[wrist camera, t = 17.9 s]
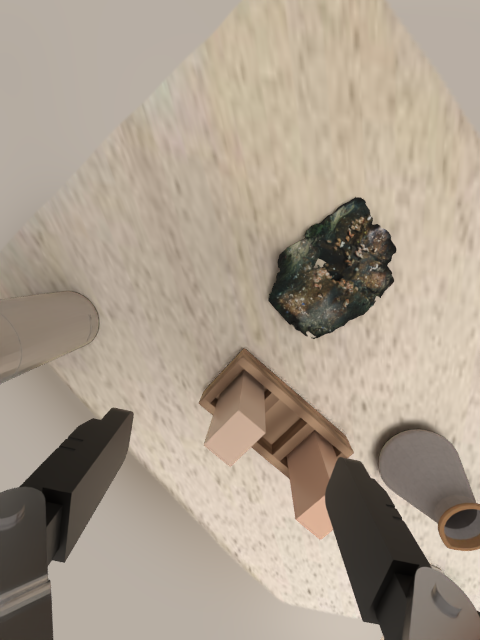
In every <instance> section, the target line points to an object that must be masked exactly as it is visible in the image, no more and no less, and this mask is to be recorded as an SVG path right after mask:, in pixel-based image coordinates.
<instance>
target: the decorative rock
mask: <svg viewBox="0 0 480 640" xmlns="http://www.w3.org/2000/svg"><path fill="white" fill-rule="evenodd" d="M365 203H366V202H365V200H363V199H362V198H356V197H355V198H354V199H352V200H351V201H350V202H347V203H345V204H343V205H341V206H340V207H339V208H338V209H337V210H336V211H335V212H334V213H333V214H331V215H328V216H327V217H326V218H325V219H324V220H323V221H322V222H321V223H319V224H315V225H313V226H311V227H310V228H309V229H308V230H307V231H306V234H305V237H306V238H305V239H304V240H302V241H299V242H298V243H295V244H294V245H292V246H290V247H288V248H287V249H286V250H285V251H283V252H282V253H281V254H280V255H279V259H278V268H279V269H280V272H279V273H278V274H277V281H276V283H274V286H273V288H272V292H271V294H269V295H270V296H269V300H268V301H269V302H270V303H271V304H272V306H273V307H274V308H275V309H276V310H277V311H278V312H279V313H280V315H281V316H282V317H283V318H284V319H285V320H286V321H287V322H288V323H289V324H292V325H294V326H295V329H296V330H298V331H301V333H303V334H304V335H305V336H308V335H307V334H306V331H309V332H310V333H312V334H313V335H314V336H316V337H315V338H318V337H321V336H323V335H324V334H327V333H332V332H333V331H334V330H335V329H337V328H339V327H341V326H344V325H345V324H346V323H347V322H348V321H349V320H352V319H354V318H357V317H358V316H360V315H364V314H365V313H366V312H367V311H368V309H369V308H370V307H371V306H373V305H374V303H375V301H374V300H375V297H376V296H379V297H380V298H381V296H382V295H383V293H384V291H385V290H387V288H388V287H390V286H391V285H392V284H393V282H394V278H393V277H392V272H391V270H390V269H389V268H388V266H387V265H388V263H389V262H390V261H391V259H392V255H393V254H394V253H396V247H395V245H394V244H393V242H392V241H391V236H390V234H389V232H388V231H387V230H385V229H383V228H381V227H380V225H378V224H376V225H372V221H373V218H372V217H371V215H370V210H369V209H368V207H367V206H366V204H365ZM318 258H319V259H322V260H323V261H325V262H326V263H325V264H324V265H323V267H322V268H321V267H319V265H318V268H317V269H314V268H313V267H314V265H315V263H316V261H317V259H318ZM331 276H332V277H331ZM311 338H312V337H311ZM315 338H313V339H315Z"/></svg>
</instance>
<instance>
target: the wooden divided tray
mask: <svg viewBox="0 0 480 640" xmlns="http://www.w3.org/2000/svg"><path fill="white" fill-rule="evenodd" d="M244 369H245V370H246V371H247V372H248V373H249V374H251V375H252V376H253V377H254V378H255V379H256V380H258V381H259V382H260V383H261V384H262V385H263V386H264V398H265V426H266V433H265V434H264V435H263V436H262V437H261V438H260V439H259V440H258V441H257V442H256V443H255V444H254V445H253V446H252V448H253V449H254V450H255V451H257V452H258V453H259V454H260V455H261V456H263V457H264V458H265V459H266V460H267V461H269V462H270V463H271V464H272V465H273V466H275V467H276V468H277V469H278V470H280V471H281V472H282V473H283V474H284V475H286V476H287V477H288V478H289V479H290V476H289V469H288V462H287V454H289V453H290V452H291V451H292V450H293V449H294V448H295V447H296V446H297V445H298V444H300V443H301V442H302V441H303V440H304V439H305V438H306V437H307V436H308V435H309V434H311V433H312V432H313V431H314V430H316V431H317V432H318V433H320V434H321V435H322V436H323V437H324V438H325V439H327V440H328V441H329V442H330V443H331V444H332V446H333V449H334V451H335V454H336V456H337V459H338V458H339V457H343V458H348V457H350V456H351V455H352V454H353V453H354V452H353V450H352V448H351V446H350V444H349V441H348V439H347V437H346V436H345V435H344V434H343V433H342V432H341V431H340V430H338V429H337V428H336V427H335V426H334V425H333V424H331V423H330V422H329V421H328V420H327V419H326V418H325V417H323V416H322V415H321V414H320V413H319V412H318V411H316V410H315V409H314V408H313V407H312V406H311V405H310V404H308V403H307V402H306V401H305V400H304V399H303V398H301V397H300V396H299V395H298V394H297V393H296V392H294V391H293V390H292V389H291V388H290V387H289V386H288V385H286V384H285V383H284V382H283V381H282V380H281V379H279V378H278V377H277V376H276V375H275V374H274V373H273V372H271V371H270V370H269V369H268V368H267V367H266V366H264V365H263V364H262V363H261V362H260V361H259V360H257V359H256V358H255V357H254V356H253V355H252V354H251V353H249V352H248V351H247V350H246V349H245V348H244V349H243V350H242V351H241V352H240V353H239V354H238V355H237V356H236V357H235V358H234V360H233V361H232V362H231V363H230V364H229V365H228V366H227V367H226V368H225V369H224V370H223V371H222V372H221V373H220V375H219V376H218V377H217V378H216V379H215V380H214V381H213V382H212V383H211V384H210V385H209V386H208V387H207V388H206V390H205V391H204V392H203V394H202V397H201V399H200V401H199V404H200V405H201V406H202V407H204V408H205V409H206V410H207V411H208V412H210V413H211V414H212V415H213V414H214V411H215V408H216V404H217V401H218V398H219V395H220V394H221V393H222V392H223V391H224V390H225V389H226V388H227V387H228V386H229V385H230V383H231V382H232V381H233V380H234V379H235V378H236V377H237V376H238V375H239V374H240V373H241V372H242V371H243V370H244Z"/></svg>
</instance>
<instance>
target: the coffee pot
mask: <svg viewBox="0 0 480 640" xmlns="http://www.w3.org/2000/svg"><path fill="white" fill-rule="evenodd" d="M379 471H380V474H381V477H382V479H383V481H384V482H385V484H386V485H387V486H388V487H389V488H390V489H391V490H392V491H393V492H395V493H396V494H397V495H399V496H400V497H402V498H403V499H405V500H406V501H407V502H409V503H410V504H412V505H413V506H414V507H416V508H417V509H419V510H420V511H421V512H423V513H424V514H426V515H427V516H428V517H430V518H431V519H433V520H434V521H435V522H437V523H438V531H439V535H440V537H441V539H442V541H443V543H444V544H445V545H446V547H447V548H450V549H454V550H462V551H472V550H477V549H480V504H477V503H476V501H475V498H474V496H473V493H472V490H471V487H470V485H469V482H468V479H467V477H466V474H465V471H464V468H463V466H462V463H461V460H460V458H459V455H458V452H457V451H456V449H455V448H454V446H453V445H452V443H450V442H449V441H448V440H447V439H446V438H445V437H443V436H441V435H439V434H436V433H434V432H431V431H426V430H421V429H415V430H408V431H404V432H401V433H399V434H397V435H395V436H393V437H392V438H391V439H390V440H388V441H387V442H386V444H385V445H384V447H383V448H382V450H381V453H380V456H379Z"/></svg>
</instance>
